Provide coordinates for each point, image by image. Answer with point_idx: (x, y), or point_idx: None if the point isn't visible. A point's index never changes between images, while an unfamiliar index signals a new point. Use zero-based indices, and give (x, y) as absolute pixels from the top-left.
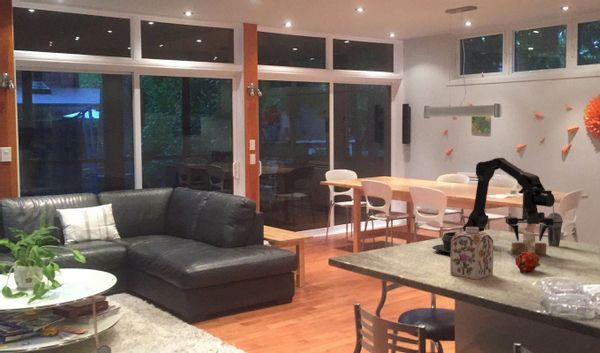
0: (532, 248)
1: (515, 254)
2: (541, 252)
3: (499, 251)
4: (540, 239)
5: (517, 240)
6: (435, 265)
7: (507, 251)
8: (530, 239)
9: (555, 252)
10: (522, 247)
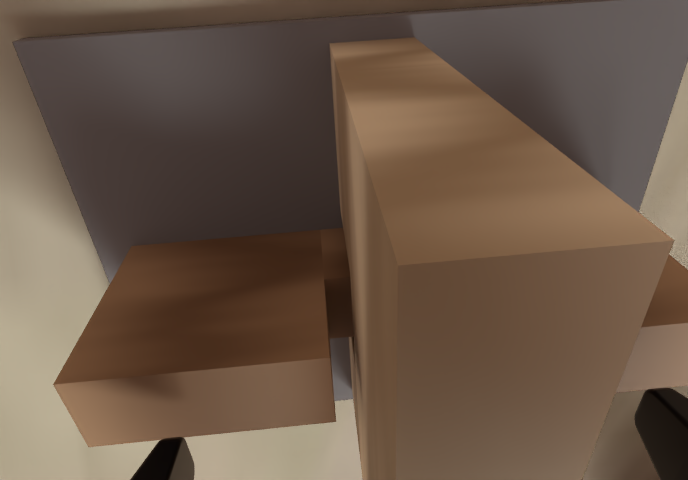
0: (402, 75)
1: None
2: (192, 264)
3: (622, 395)
4: (160, 466)
5: (665, 394)
6: None
7: None
8: (562, 169)
9: (38, 450)
10: None
